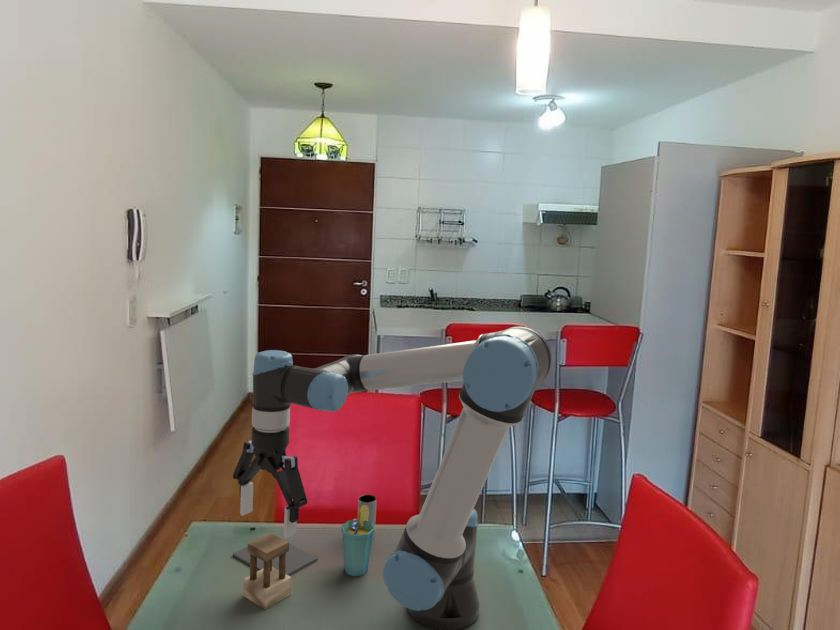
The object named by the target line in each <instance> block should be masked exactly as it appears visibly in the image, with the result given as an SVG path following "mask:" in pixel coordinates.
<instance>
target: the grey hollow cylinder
mask: <svg viewBox="0 0 840 630" xmlns="http://www.w3.org/2000/svg"><path fill="white" fill-rule="evenodd" d="M357 501H358V502H357V504H358V505H357V515H358V514H359V511H360V509H361V507H362V505H366V506H368V507H369V518H368V522H371V523H372V525H373V527H374V528H375V529H376V518H377V517H376V516H377V497H376V496H375V495H372V494H362V495H360V496H359V497H358V499H357ZM375 536H376V530H375V531H374V534H373V536H372V540H373V539H374V538H375Z"/></svg>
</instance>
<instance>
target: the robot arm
mask: <svg viewBox="0 0 840 630" xmlns="http://www.w3.org/2000/svg"><path fill="white" fill-rule="evenodd" d="M552 358H553V356H552V351H551V346H550V345H549V343H548V342H547V340H546V338H545V337H544V336H543V335H541V333H540V332H538V331H536V330H535V329H532V328H529V327H527V326H512V327H509V328H507V329H503V330H499V331H495V332H489V333H482V334H480V335H479V336H478V338H477V339H476V340H469V341H462V342H461V341H460V342H455V343H447V344H440V345H433V346H425V347H418V348H417V347H416V348H410V349H409V348H408V349H402V350H395V351H387V352H379V353H371V354H366V355H361V354H350V355H347V356H343V357H342V358H339V359H337V360H334V361H332V362H329V363H326V364H323V365H321V366H318V367H315V368H309V367H304V366H300V365H295V364H293V363H294V361H293V355H292V354H291V353H290V352H287V351H284V350H278V349H269V350H268V349H267V350H264V351H263V350H262V351H260V352H258V353H256V354H255V356H254V360H253V361H254V362H253V370H252V371H253V372H252V396H253V397H252V399H253V400H252V407H251V425H252V428H251V440H247V441H246V442H243V446H242V452H241V455H240V457H239V459H238V462H237V464H236V466H235V469H234V472H233V474H232V479H233V480H237V483H238V485H239V499H240V506H239V508H240V509H239V510H240V511H239V513H240V514H239V515H240V516H242V517H243V516H246V515H248V514H250V513H253V512H254V511H253V508H254V506H253V504H254V483H253V482H252V481H253V478H254V477H255V476H256V475H257V474H258V473H259V471H260V470H263V471H266V472H267V473H269V474H271V477H272V478H274V479H275V480H276V483H277V484H278V487H279V489H280V491H281V494H282V495H283V498H284V500H285V502H286V504H287V505H286V506H284V516H283V518H284V520H283V537H284V538H285V539H288V538H289V537H292V536H294V535H296V534H297V528H298V527H297V523H298V521H299V517H300V516H299V515H300V508H301V507H303V506H306V505H308V498H307V496H306V492H305V488H304V484H303V481H302V477H301V474H300V470H299V465H298V464H299V463H298V461H299V460H298V456H296V455H293V456H288V455H287V453H286V449H287V447H288V445H289V444H290V427H289V426H290V423H291V422H290V421H291V404H292V405H297V406H301V407H304V408H309V409H313V410H316V411H319V412H323V411H324V412H332V413H333V412H334V413H335V412H338V411H339V410H341V409H342V407H343V405H344V404H345V403H346V401H347V398H348V395H349V394H353V393H360V392H361V393H362V392H370V391H377V390H386V389H396V388H407V387H415V386H425V385H435V384H445V383H454V382H463V383H462V387H461V389H460V391H459V393H458V399H459V400H460V402H461V404H462V406H463V408H462V409H461V412H460V415H459V417H458V419H457V422H456V424H455V426H454V429H453V432H452V434H451V437H450V439H449V441H448V444H447V446H446V448H445V451H444V453H443V456H442V458H441V461H440V463H439V465H438V469H437V471H436V473H435V475H434V478H433V481H432V483H431V485H430V488H429V490H428V493H427V495H426V498H425V501H424V503H423V504H422V507H421V510H420V513H419V514H416V515H413V516H411V517H410V518H409V519H408V521H407V523H406V525H405V527H404V531H403V533H402V535H401V538H400V539H399V542H398V545H397V547H396V548H395V550H394V552H392V553H390V554H389V556H388V557H387V558H386V561H385V562H384V565H383V568H382V579H383V583H384V585H385V586H386V588H387V592H388V593H389V594H390V596H391V597H392V598H393V600H395V601H396V602H397V603H398V604H400V605H401V606H403V607H404V608H407V612H408V613H409V615H410V616H411V618H412V619H413V620H415V622H417V623H419V624H421V625H422V626H424V627H426V628H429V629H433V630H462V629H464V628H467V627H470V626H471V625H472V624H474V622H476V621H477V620H478V618H479V614H480V607H481V606H480V604H481V603H480V596H479V595H478V590H477V586H476V583H475V582H476V581H475V578H474V573H475V572H474V571H475V563H476V562H475V560H476V547H477V546H476V545H477V537H478V536H477V534H478V527H479V523H478V512H477V510H476V509H475V506H476V504H477V502H478V499H479V497H480V494H481V493H482V490H483V488H484V487H485V483H486V480H487V479H488V476H489V474H490V471H491V469H492V467H493V465H494V463H495V460H496V458H497V455H498V453H499V451H500V449H501V446H502V444H503V442H504V440H505V437H506V434H507V432H508V430H509V428H511V427H513V426H517V425H519V424H520V423H522V421H523V418H524V416H525V414H526V411H527V409H528V407H529V405H530V403H531V400H532V398H533V396H534V393H535V391H536V389H537V387H539V386H540V385H541V383H543V381H544V380H545V379H547V376H548V375H549V373H550V370H551V367H552V363H553V359H552ZM254 456H255V457H254Z"/></svg>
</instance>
